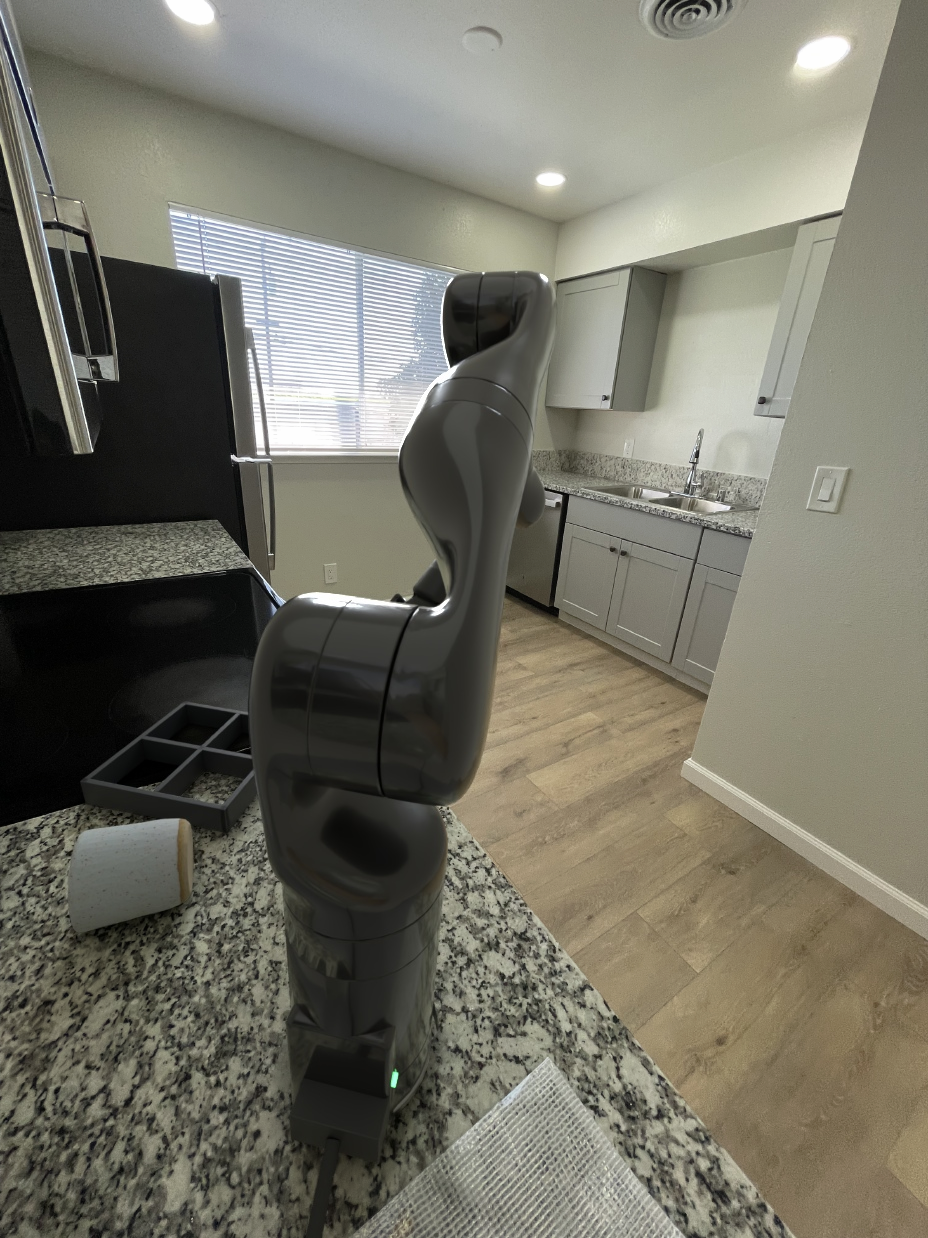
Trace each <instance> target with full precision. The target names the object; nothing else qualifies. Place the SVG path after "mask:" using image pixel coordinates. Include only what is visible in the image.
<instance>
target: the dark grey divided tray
mask: <svg viewBox="0 0 928 1238" xmlns="http://www.w3.org/2000/svg"><path fill="white" fill-rule="evenodd" d="M188 724H190V725H197V726H201V727H208V728H213V729H217V731H215V732H214V734H212V735H211V736H210V737H209V738H208V739H207V740H206V741H205V742H204V743H203V744H201V745H197V744H191V743H186V742H181V741H177V740H176V741H175V740H170V739H171V738H173V737H174V736H175V735H176V734H177V733H179V732H180V731H181V730H182V729H183V728H185V727H186V726H187V725H188ZM242 734H246V735H247V734H248V735H249V729H248V711H242V710H236V709H231V708H224V707H218V706H212V705H208V704H201V703H196V702H190V701H185V700H184V701H183V702H182V703H180V704H179V705H178V706H177V707H175V708H174V709H172V710H171V711H170V712H169V713H167V714H166V715H164V716H163V717H162V718H161V719H159V720H158V721H156V723H154V724H152V726H150V727H149V728H147V729H146V730H145V731H144V732H142V733H141V734H140V735H139V736H138V737H136V738H135V739H134V740H132V741H131V742H130V743H128V744H127V745H125V747H123V748H122V749H120V750H119V751H118V752H116V753H115V754H114V755H113V756H111V757H109V758H108V759H107V760H106V761H105V762H103V763H102V764H101V765H99V766H98V767H96V769H94V770H93V771H92V772H91V773H89V774H88V775H87V776H85V777H83V778H82V779H81V780H80V781H79V783H80V787H81V790H82V794H83V799H84V802H85V804H86V805H90V806H96V807H99V808H106V809H110V810H114V811H120V812H124V813H131V814H134V815H138V816H139V815H140V816H144V817H150V818H154V819H157V820H160V819H185V820H187V821H188V822H189V823H190V825H191V826H192V827H193V826H194V827H199V828H203V829H208V830H212V831H218V832H223V833H228V832H229V831H230V830H231V829H232V828H233V826H234V825H235V824H236V823H237V821H238V820H239V818H240V817H241V816H242V815H243V813H245V811H246V810H247V809H248V807H249V806H250V805H251V803H252V802H253V801H254V800H255V798H256V797H258V793H257V788H256V782H255V776H254V771H253V764H252V757H251V754H246V753H241V752H235V751H230V750H227V749H228V748H229V747H230V746H231V745H232V744H233V743H234V742H235V741H236V740H237V739H238V738H239V737H240V736H241V735H242ZM145 760H146V761H152V762H157V763H162V764H163V763H164V764H168V765H173V766H178V767H177V768H176V769H174V771H172V772H171V773H170V774H169V775H168V776H167V777H166V778H165V779H164V780H163V781H162V782H161V783H159V785H157V786H156V787H155V788H154V789H153V790H148V789H143V788H138V787H133V786H128V785H122V784H117V783H119V782H120V781H121V780H122V779H124V778H125V777H126V776H127V775H129V773H131V772H132V771H133V770H134V769H135V768H136V767H138V766H139V765H141V764H142V763H143V762H144V761H145ZM205 771H206V772H209V773H210V772H211V773H216V774H221V775H226V776H233V777H236V778H243V780H242V781H241V783H240V784H239V785H238V786H237V787H236V788H235V790H233V792H232V793H231V794H230V796H229V797H228V798H227V799H226V800H225V801H224V802H223V804H219V803H214V802H209V801H204V800H198V799H194V798H190V797H185V796H184V797H183V796H181V795H183V794H184V792H186V791H187V790H188V789H189V788H190V786H191V785H193V784H194V783H195V781H197V779H198V778H199V777H200V776H201V775H202V774H203V773H204V772H205Z"/></svg>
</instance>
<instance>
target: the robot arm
mask: <svg viewBox="0 0 928 1238" xmlns="http://www.w3.org/2000/svg"><path fill="white" fill-rule="evenodd" d="M557 299H558V298H557V296H556V291H555V288H554V285H553V284H552V282H551V281H550V279H549V277H547V276H546V275H545V274H543V273H541V272H538V271H533V270H498V271H497V270H496V271H495V270H493V271H474V272H473V271H472V272H464V273H459V274H456V275H454V276H453V277H451V278H450V280H449V281H448V283H447V285H446V287H445V289H444V293H443V297H442V303H441V312H440V313H441V314H440V326H441V328H440V330H441V331H440V332H441V339H442V340H441V341H442V346H443V351H444V356H445V359H446V363H447V366H448V369H446V371H444V372H442V374H441V375H439V377H437V378H436V379H435V380H434V381H433V382H432V383H431V384H430V385H429V387H428V388H427V390H426V391H425V392H424V394H423V395H422V397H421V399H420V400H419V402H418V404H417V407H416V409H415V410H414V413H413V416H412V418H411V420H410V422H409V424H408V427H407V429H406V431H405V433H404V435H403V438H402V441H401V443H400V446H399V452H398V457H397V470H398V471H397V472H398V478H399V479H398V480H399V483H400V487H401V490H402V493H403V496H404V498H405V501H406V503H407V505H408V508H409V509H410V512H411V514H412V517H413V518H414V520H415V522H416V524H417V525H418V527H419V529H420V531H421V532H422V534H423V536H424V538H425V539H426V541H427V543H428V545H429V546H430V549H431V551H432V553H433V555H434V557H435V558H434V559H433V561H432V562H431V563H430V564H429V566H428V567H427V568H426V569H425V571H424V572H423V573H422V575H421V576H420V577H419V578H418V580H417V581H416V583H415V584H414V585H413V586H412V592H413V594H412V596H411V597H410V598H409V599H408V600H407V599H405V598H404V597H403V596H402V595H401V594H400V593H395V594H394V595H393V596H392V598H391V599H390V600H384V599H377V598H370V597H364V596H363V597H362V596H356V595H355V596H354V595H349V594H341V593H331V592H323V591H321V592H320V591H319V592H318V591H317V592H316V591H315V592H314V591H313V592H312V591H311V592H305V593H301V594H297V595H294V596H293V597H292V598H289V599H288V600H287V601H285V602H284V603H283V604H281V605H280V606H279V607H278V609H277V610H276V611H275V612H274V614H273V615H272V616H271V617H270V619H269V620H268V622H267V624H266V625H265V627H264V629H263V631H262V633H261V636H260V638H259V641H258V644H257V646H256V649H255V653H254V656H253V659H252V663H251V670H250V676H249V684H248V685H249V686H248V692H247V693H248V695H247V712H248V729H249V734H248V741H249V749H250V755H251V757H252V764H253V771H254V776H255V782H256V788H257V793H258V794H257V799H258V804H259V810H260V816H261V823H262V828H263V835H264V843H265V848H266V849H265V850H266V855H267V860H268V863H269V866H270V868H271V870H272V873H273V874H274V876H275V877H276V879H277V880H278V881H279V882H280V885H281V892H282V904H283V918H284V919H283V920H284V936H285V948H286V950H285V951H286V963H287V973H288V974H287V976H288V992H289V1003H290V1004H289V1005H290V1011H289V1013H288V1015H287V1018H286V1022H285V1030H286V1042H287V1054H288V1056H287V1057H288V1067H289V1079H290V1091H291V1104H292V1107H291V1109H290V1111H289V1115H288V1119H289V1127H290V1128H289V1131H290V1139H291V1140H292V1141H296V1142H299V1143H303V1144H306V1145H308V1146H309V1145H310V1146H312V1147H313V1146H314V1147H317V1148H321V1149H323V1153H322V1157H321V1162H320V1168H319V1171H318V1176H317V1181H316V1186H315V1190H314V1193H313V1194H314V1195H313V1199H312V1203H311V1208H310V1212H309V1218H308V1223H307V1228H306V1234H305V1238H323V1236H324V1235H323V1234H324V1230H325V1224H326V1220H327V1213H328V1209H329V1203H330V1198H331V1194H332V1189H333V1183H334V1179H335V1174H336V1169H337V1164H338V1159H339V1154H342V1155H346V1156H349V1157H354V1158H356V1159H361V1160H364V1161H368V1162H371V1163H375V1164H379V1161H380V1159H381V1154H382V1149H383V1145H384V1141H385V1139H386V1138H387V1137H388V1135H389V1133H390V1128H391V1124H392V1121H393V1118H394V1117H395V1116H396V1115H398V1114H399V1113H400V1112H401V1111H402V1110H403V1109H404V1108H405V1107H406V1106H407V1105H408V1104H409V1103H410V1101H412V1099H413V1097H414V1096H415V1094H416V1093H417V1092H418V1090H419V1088H420V1086H421V1084H422V1082H423V1079H424V1077H425V1075H426V1072H427V1069H428V1066H429V1062H430V1056H431V1049H432V1048H431V1047H432V1023H433V1022H434V1026H435V1029H436V1031H438V1023H439V1017H438V1015H437V1009H436V1005H435V1001H434V1000H435V987H436V978H437V977H436V976H437V968H438V967H437V966H438V955H439V944H440V933H441V925H442V924H441V923H442V913H443V903H444V894H445V893H444V892H445V882H446V874H447V866H448V865H447V863H448V855H449V838H448V837H449V836H448V831H447V825H446V822H445V820H444V818H443V814H442V813H441V812H440V809H439V808H438V807H447V806H451V805H453V804H455V803H457V802H458V801H459V800H460V801H461V799H462V798H463V797H464V795H466V794H467V792H468V791H469V789H470V788H471V786H472V784H473V783H474V780H475V778H476V776H477V773H478V770H479V767H480V765H481V763H482V759H483V755H484V750H485V747H486V744H487V738H488V734H489V728H490V723H491V717H492V710H493V704H494V696H495V687H496V681H497V672H498V671H497V670H498V661H499V652H500V644H501V643H500V642H501V633H502V624H503V616H504V615H503V614H504V606H505V597H506V588H507V579H508V573H509V572H508V570H509V562H510V555H511V551H512V545H513V539H514V534H515V531H516V529H520V530H525V529H529V528H531V527H534V526H535V525H536V524H537V523H538V522H539V521H540V520H541V519H542V516H543V514H544V512H545V509H546V501H547V499H546V498H547V496H546V491H545V487H544V484H543V482H542V479H541V477H540V475H539V473H538V470H537V468H536V467H535V465H534V442H535V441H534V439H535V434H536V433H535V432H536V424H537V416H538V407H539V400H540V396H541V395H540V394H541V391H542V388H543V384H544V382H545V378H546V375H547V372H548V369H549V366H550V363H551V359H552V355H553V353H554V349H555V344H556V339H557V338H556V337H557V334H558V333H557V332H558V324H559V323H558V322H559V313H558V312H559V311H558V300H557ZM433 1020H434V1021H433Z"/></svg>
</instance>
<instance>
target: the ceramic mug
mask: <svg viewBox="0 0 928 1238" xmlns="http://www.w3.org/2000/svg"><path fill="white" fill-rule="evenodd" d="M193 843H194V842H193V830H192V825H190V823H189V822H188V821H187V820H185V819H155V820H148V821H143V822H137V823H130V824H129V823H128V824H121V825H115V826H114V825H113V826H106V827H99V828H91V829H87V830H83V831H82V832H81V833H80V834H79V836H78V837H77V838H76V842H75V843H74V846H73V850H72V854H71V858H70V862H69V867H68V875H67V906H68V908H67V909H68V914H69V919H70V924H71V927H72V928H73V930H74V931H75V932H76V933H78V934H79V933H80V934H81V933H86V932H87V933H88V932H90V931H93V930H96V929H97V930H98V929H100V928H104V927H108V926H111V925H116V924H118V923H123V922H126V921H130V920H132V919H136V918H140V917H144V916H147V915H152V914H157V913H160V912H163V911H167V910H170V909H173V908H175V907H177V906H180V905H181V904H184V903H185V902H186V901H187V900H188V899H189V898H190V897H191V895H192V892H193V886H194V884H193V883H194V844H193Z"/></svg>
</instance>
